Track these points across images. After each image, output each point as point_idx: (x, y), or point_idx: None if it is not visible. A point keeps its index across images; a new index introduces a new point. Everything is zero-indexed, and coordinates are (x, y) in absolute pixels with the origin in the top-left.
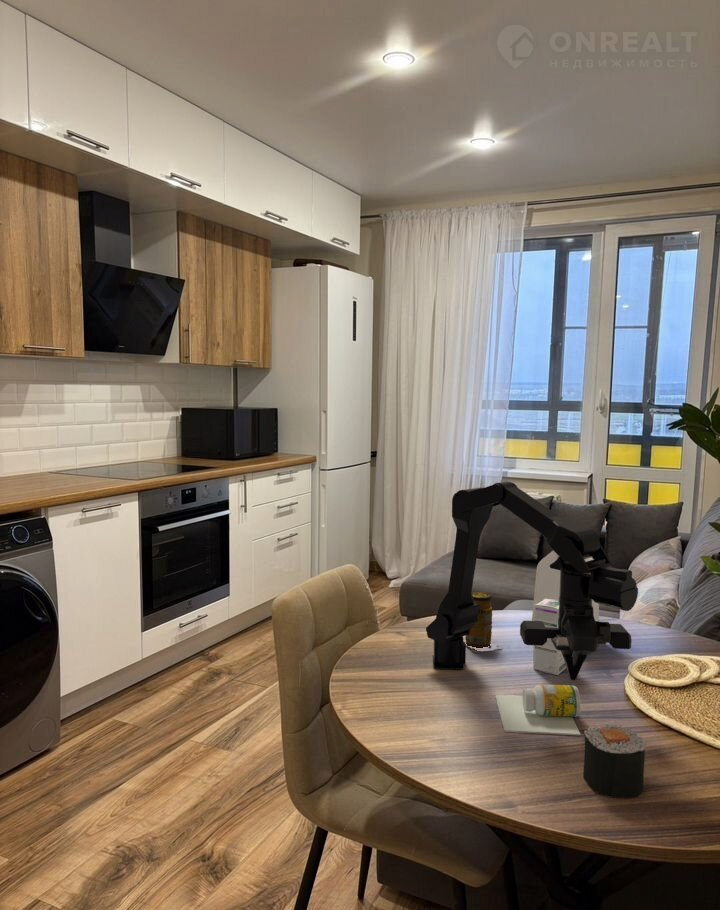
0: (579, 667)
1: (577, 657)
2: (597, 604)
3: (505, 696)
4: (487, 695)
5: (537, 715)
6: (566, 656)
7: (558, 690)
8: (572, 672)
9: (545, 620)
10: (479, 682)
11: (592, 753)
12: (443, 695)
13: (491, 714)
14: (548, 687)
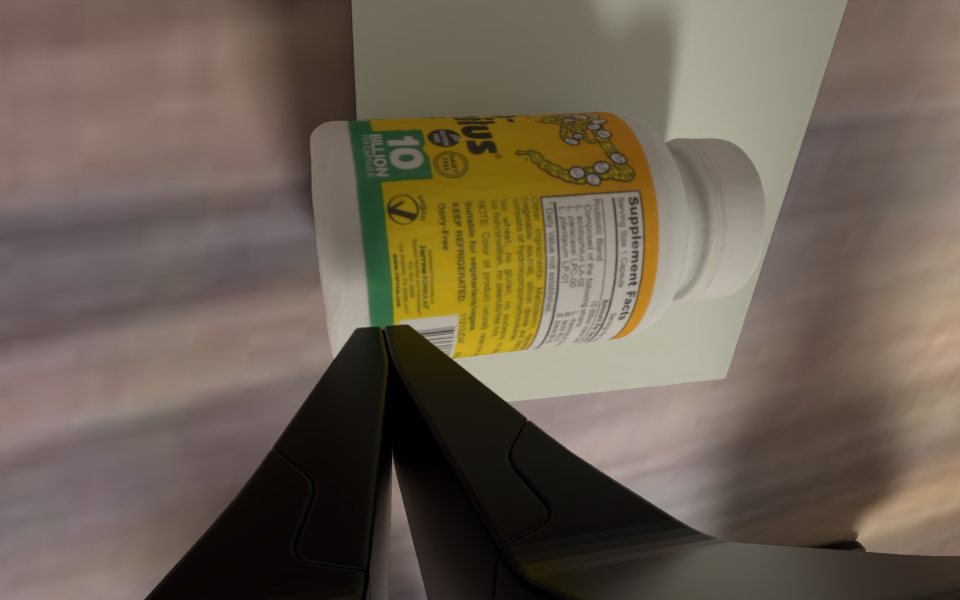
0: (318, 417)
1: (372, 557)
2: None
3: (683, 369)
4: (751, 374)
5: None
6: (618, 518)
7: (521, 232)
8: (412, 365)
9: None
10: (733, 482)
11: None
12: (938, 337)
13: (824, 173)
14: (605, 262)
